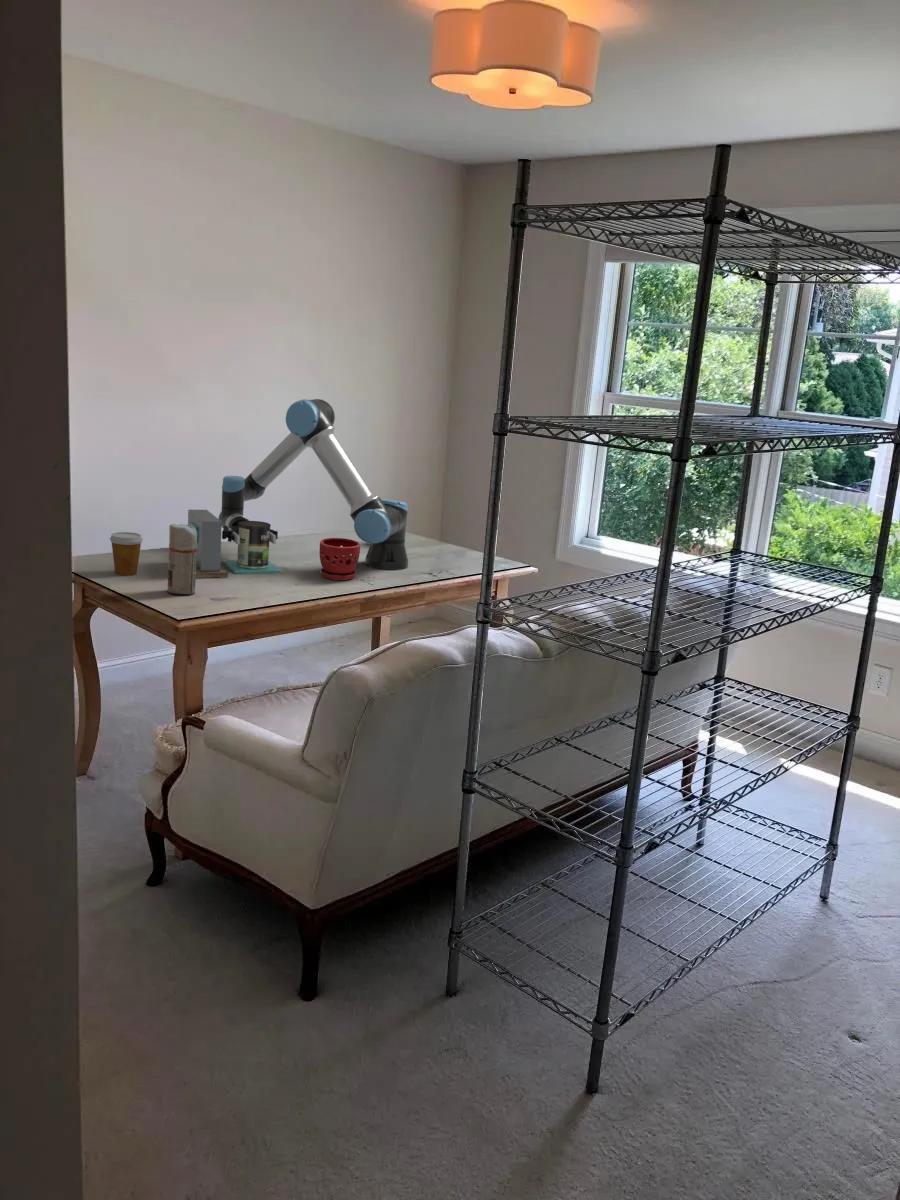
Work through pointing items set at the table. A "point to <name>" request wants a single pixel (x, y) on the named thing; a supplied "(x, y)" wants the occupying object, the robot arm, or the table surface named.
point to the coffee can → (253, 544)
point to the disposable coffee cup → (126, 552)
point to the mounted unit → (207, 543)
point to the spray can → (182, 559)
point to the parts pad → (237, 569)
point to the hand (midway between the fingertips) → (256, 540)
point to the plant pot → (339, 558)
